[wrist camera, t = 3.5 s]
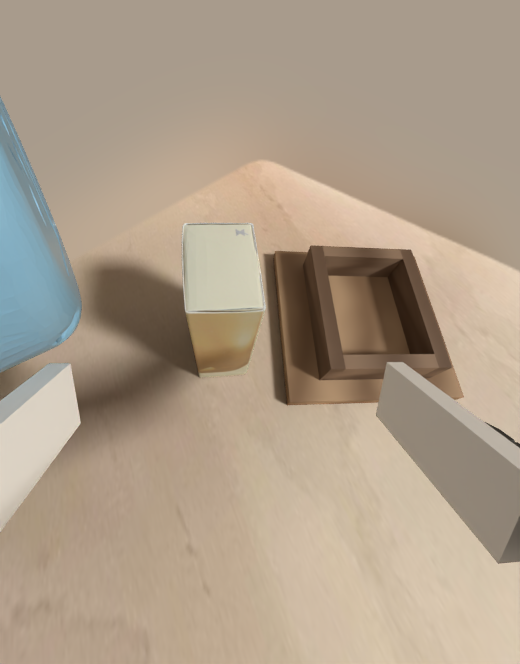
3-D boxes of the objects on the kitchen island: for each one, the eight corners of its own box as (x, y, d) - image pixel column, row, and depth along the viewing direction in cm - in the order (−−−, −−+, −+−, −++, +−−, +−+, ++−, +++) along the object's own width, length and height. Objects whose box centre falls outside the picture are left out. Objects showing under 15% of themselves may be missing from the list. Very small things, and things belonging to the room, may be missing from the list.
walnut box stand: (287, 405, 26) (298, 392, 22) (273, 258, 32) (280, 230, 29) (454, 400, 28) (491, 388, 24) (408, 263, 34) (431, 237, 31)
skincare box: (196, 317, 28) (180, 217, 17) (241, 314, 29) (253, 217, 18) (198, 382, 25) (181, 313, 15) (248, 378, 26) (267, 309, 15)
